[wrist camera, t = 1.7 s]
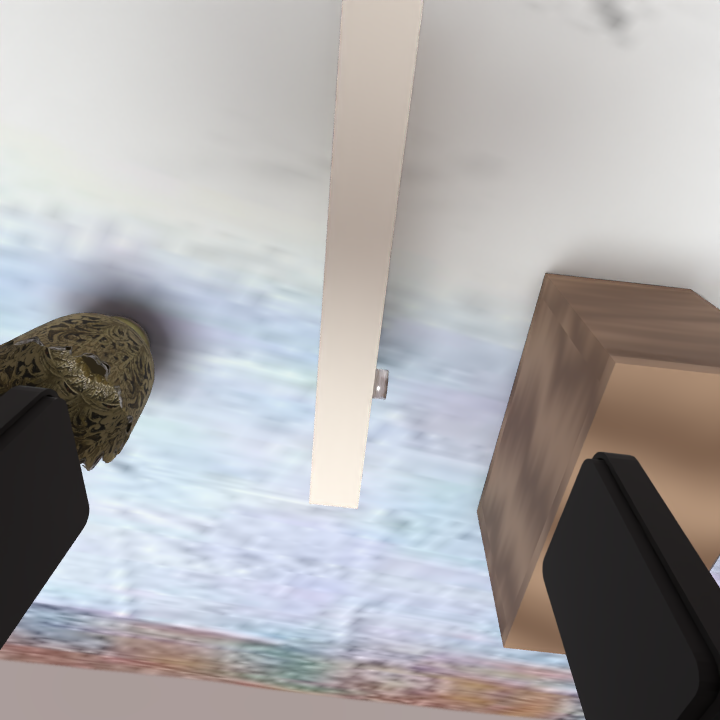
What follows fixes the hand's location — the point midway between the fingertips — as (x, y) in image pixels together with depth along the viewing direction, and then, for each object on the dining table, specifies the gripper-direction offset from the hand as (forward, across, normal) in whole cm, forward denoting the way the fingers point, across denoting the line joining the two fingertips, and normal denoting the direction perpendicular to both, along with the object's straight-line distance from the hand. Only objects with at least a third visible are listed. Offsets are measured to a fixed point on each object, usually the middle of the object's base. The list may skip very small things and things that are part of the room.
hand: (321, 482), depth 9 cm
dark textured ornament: (+20, +14, +9) cm, 26 cm away
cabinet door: (+20, 0, 0) cm, 20 cm away
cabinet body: (+20, -14, +11) cm, 27 cm away
